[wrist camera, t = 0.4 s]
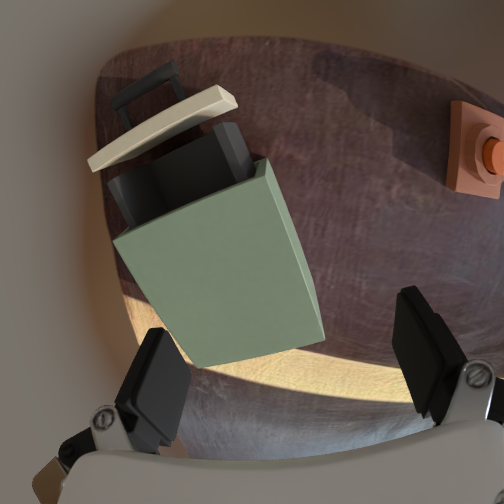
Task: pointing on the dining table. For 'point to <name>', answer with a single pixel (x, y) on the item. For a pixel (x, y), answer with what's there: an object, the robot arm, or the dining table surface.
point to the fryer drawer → (179, 160)
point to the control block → (472, 150)
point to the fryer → (227, 273)
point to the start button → (494, 156)
